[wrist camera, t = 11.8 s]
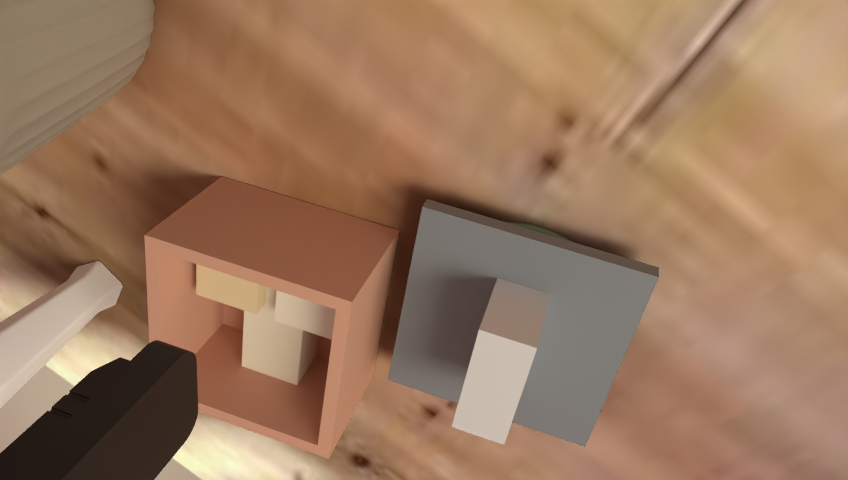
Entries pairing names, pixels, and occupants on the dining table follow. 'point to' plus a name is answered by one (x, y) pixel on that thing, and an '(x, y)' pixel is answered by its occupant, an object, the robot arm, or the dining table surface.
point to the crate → (272, 308)
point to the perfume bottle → (52, 324)
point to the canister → (63, 65)
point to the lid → (515, 324)
